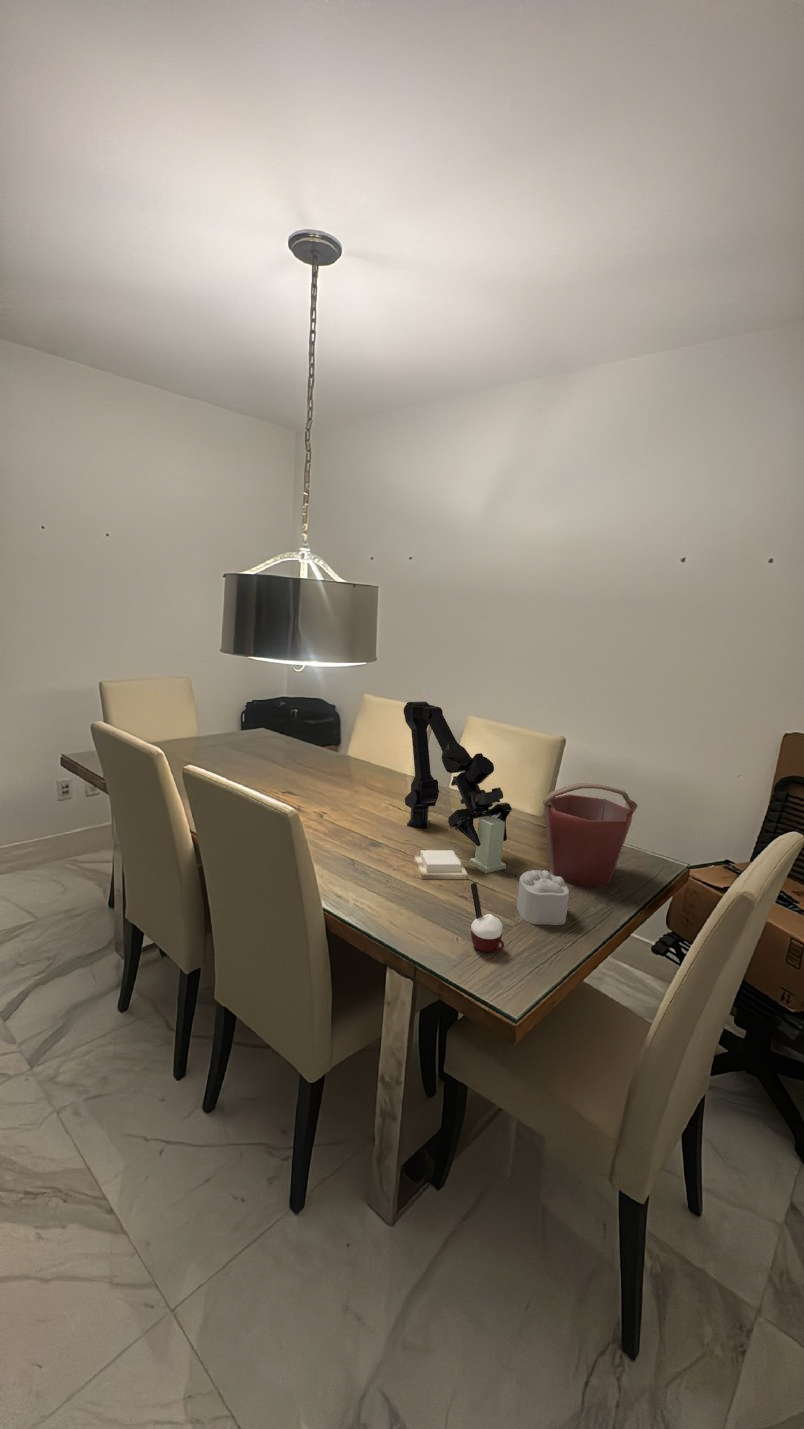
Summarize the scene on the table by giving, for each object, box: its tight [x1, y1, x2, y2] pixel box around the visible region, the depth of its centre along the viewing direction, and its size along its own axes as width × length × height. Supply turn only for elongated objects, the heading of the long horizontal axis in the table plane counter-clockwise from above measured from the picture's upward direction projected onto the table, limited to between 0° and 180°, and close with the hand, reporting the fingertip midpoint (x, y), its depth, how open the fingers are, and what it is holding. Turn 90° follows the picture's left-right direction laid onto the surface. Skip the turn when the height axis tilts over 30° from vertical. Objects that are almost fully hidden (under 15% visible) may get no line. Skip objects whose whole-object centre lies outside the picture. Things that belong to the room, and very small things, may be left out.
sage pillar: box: [469, 816, 507, 874], centre depth 163 cm, size 7×7×13 cm
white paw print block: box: [516, 869, 570, 926], centre depth 141 cm, size 10×13×9 cm
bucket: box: [542, 782, 638, 888], centre depth 161 cm, size 24×22×25 cm
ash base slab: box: [413, 854, 469, 880], centre depth 160 cm, size 12×12×2 cm
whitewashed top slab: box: [420, 849, 462, 872], centre depth 160 cm, size 9×9×2 cm
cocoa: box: [470, 881, 505, 953], centre depth 123 cm, size 10×6×12 cm, turn 18°
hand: (492, 843), depth 162 cm, fingers open, 9 cm apart
